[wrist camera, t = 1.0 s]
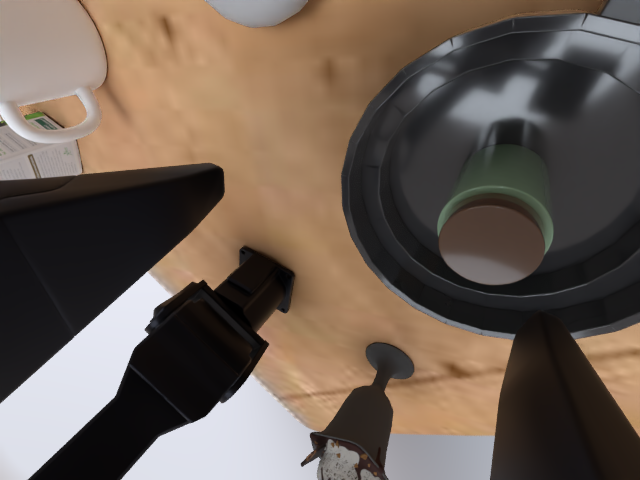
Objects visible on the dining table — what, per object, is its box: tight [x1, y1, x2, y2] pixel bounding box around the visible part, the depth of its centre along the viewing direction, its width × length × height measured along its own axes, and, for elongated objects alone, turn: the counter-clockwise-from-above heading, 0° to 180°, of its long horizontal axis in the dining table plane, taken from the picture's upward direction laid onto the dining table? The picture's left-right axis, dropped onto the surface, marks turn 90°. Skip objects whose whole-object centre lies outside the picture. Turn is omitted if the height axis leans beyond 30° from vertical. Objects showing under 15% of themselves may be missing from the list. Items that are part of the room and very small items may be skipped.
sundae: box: [301, 343, 414, 480], centre depth 27 cm, size 7×7×15 cm
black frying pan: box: [341, 9, 640, 340], centre depth 17 cm, size 16×16×4 cm
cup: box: [0, 0, 107, 143], centre depth 27 cm, size 8×12×10 cm
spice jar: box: [437, 144, 554, 285], centre depth 16 cm, size 5×5×7 cm
